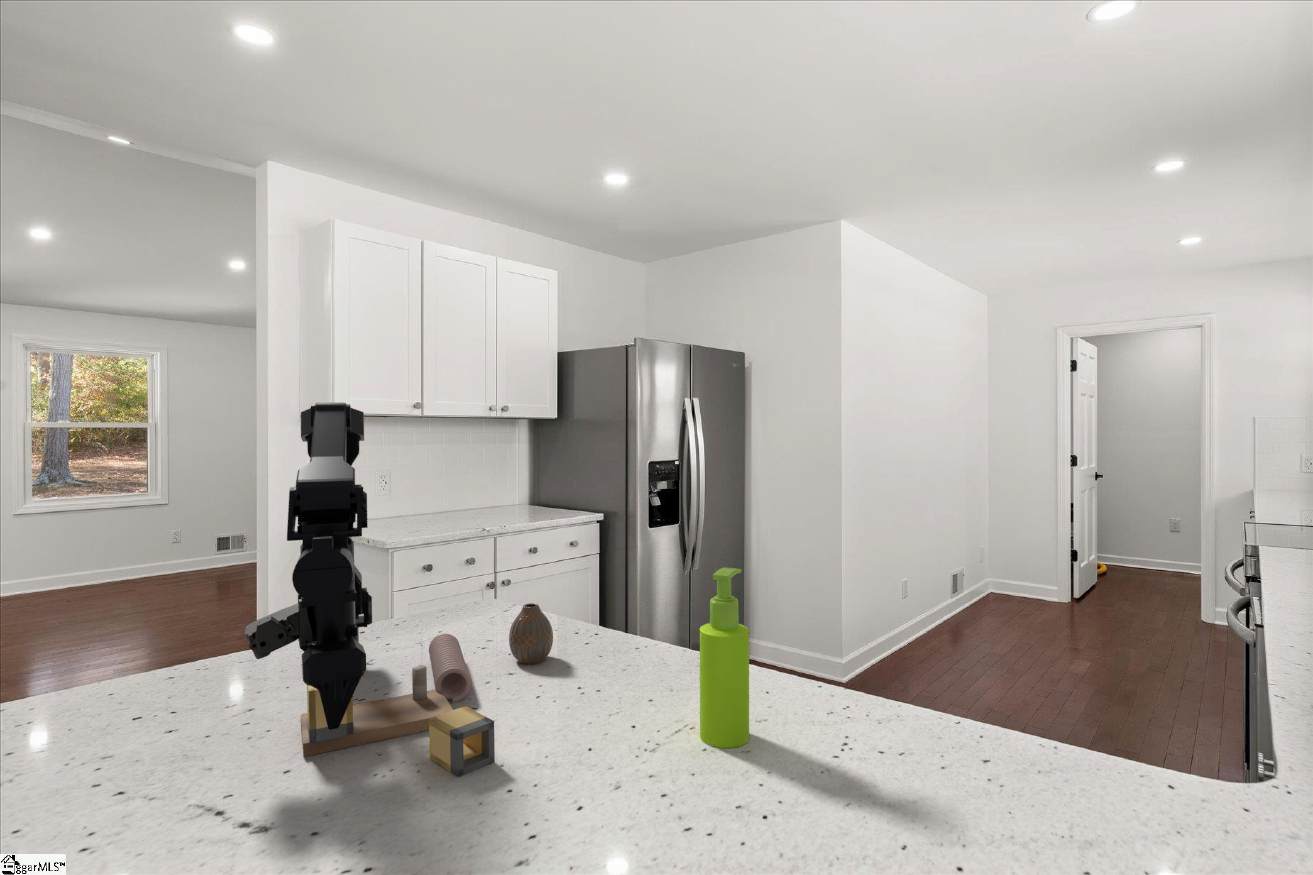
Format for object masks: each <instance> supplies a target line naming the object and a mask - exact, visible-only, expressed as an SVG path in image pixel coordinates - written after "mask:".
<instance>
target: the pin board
mask: <svg viewBox="0 0 1313 875" xmlns="http://www.w3.org/2000/svg"><path fill="white" fill-rule="evenodd" d="M427 669H428V668H427V666H426V665H416V666H414V667H412V668H411V671H412V672H411V680H412V681H411V682H412V685H411V686H412V693H409V694H404V695H398V696H393V697H387V698H384V699H377V700H372V701H367V702H362V703H361V702H360V703H357V704H353V735H348V736H343V737H339V738H334V739H329V740H324V741H319V742H314V743H310V742H309V734H308V714H307V712H306V713H303V714H302V713H301V714H300V732H301V743H302V756H303V758H304V757H309V756H313V755H318V754H323V753H328V752H332V751H333V752H334V751H338V750H341V749H343V750H344V749H346V748H347V749H348V748H351V747H356V746H360V745H361V746H362V745H365V744H371V743H374V742H379V741H385V740H389V739H393V738H399V737H403V736H408V735H413V734H416V733H423V732H426V731H429V718H432V717H435V716H438V715H440V714H443V713H446V712H449V711H452V710H454V709H453V707H452V706H451V704H450V702H449V700H447V699H446V698H445V696H444V694H443V693H442V691H436V690H435V689H430V690H428V681H427V680H428V679H427V678H428V677H427V676H428V674H427V673H428V672H427V671H428V670H427Z"/></svg>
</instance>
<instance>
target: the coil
mask: <svg viewBox="0 0 1313 875" xmlns="http://www.w3.org/2000/svg"><path fill="white" fill-rule="evenodd" d="M428 653H429V654H428V655H429V661H430V666H431V671H432V672H431V673H432V677H433V683H434V688H435V689H434V690H436V691H442V693H443V694H444V696H445V698H446V699H447V701H451V703H458V702H460V701H461V700H463V699H464V698H465V697H466V696H468V693H469V691H470V689H471V685H472V684H471V683H472V680H471V677H470V674H469V671H468V667H467V663H466V661H465V657H464V654H463V652H462V647H461V645H460V642H459V639H458V638H457V637H456V636H454V635H453V634H450V633H442V634H441V633H440V634H438V635H436V636H435V637H433V639H432V640H431V641H430V643H429V647H428Z"/></svg>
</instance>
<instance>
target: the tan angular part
mask: <svg viewBox="0 0 1313 875" xmlns="http://www.w3.org/2000/svg"><path fill="white" fill-rule="evenodd" d="M428 733H429V759H430V760H431V761H433V762H434V763H436V764H437V765H438V766H441V767H442V768H443V769H445V770H447V771H448V772H450V773H451V774H453V775H454V776H455V777H457V778H459V777H461V776H464V775H467V774H468V773H471V772H474V771H475V770H479V769H480V768H483V767H485V766H488V765H490V764H493V763H495V760H496V759H495V758H496V757H495V756H496V755H495V754H496V753H495V752H496V751H495V748H496V746H495V720H493V719H491V718H489V717H487V716H485V715H484V714H481V713H480V712H478V711H476V710H473V709H472V708H470V707H468V706H466V705H464V706H461V707H459V708H456V709H453V710H452V711H449V712H446V713H443V714H440V715H438V716H435V717H432V718H429V730H428Z"/></svg>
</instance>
